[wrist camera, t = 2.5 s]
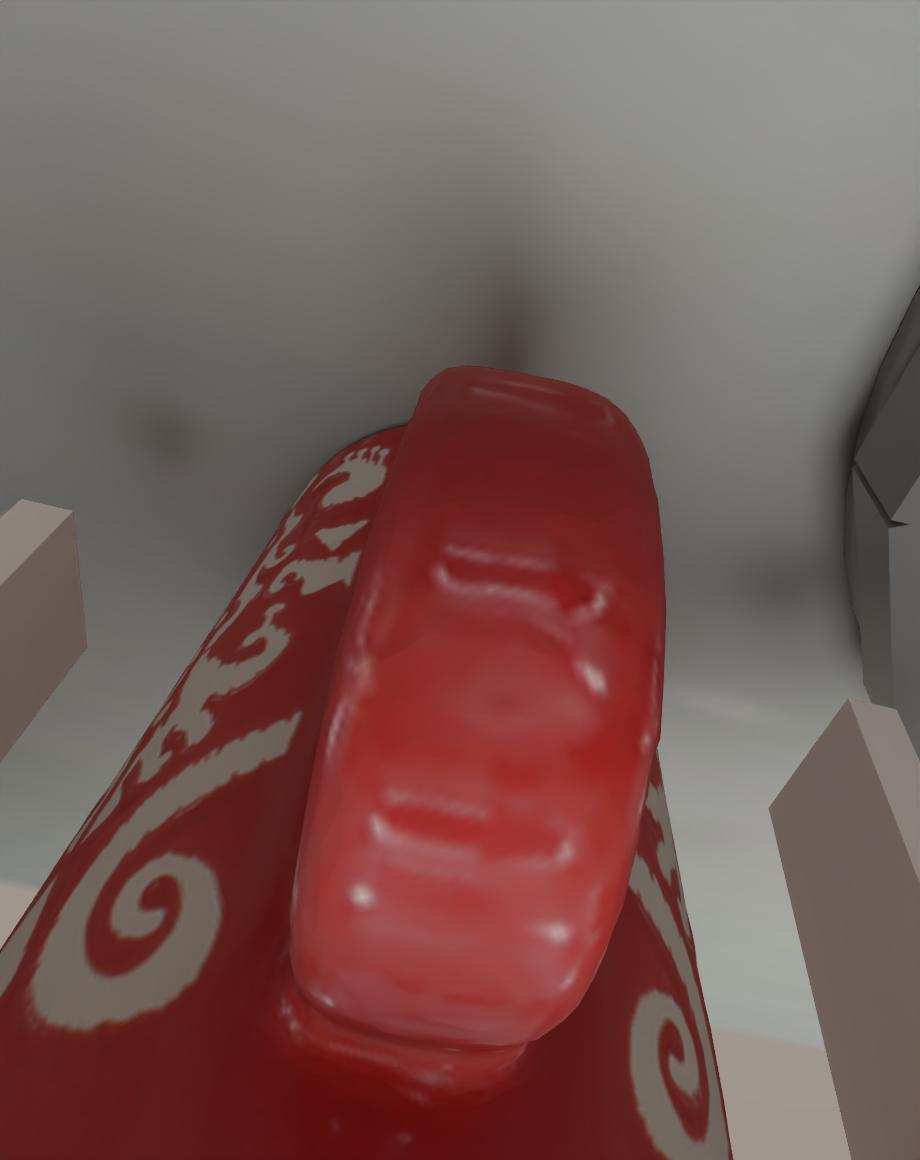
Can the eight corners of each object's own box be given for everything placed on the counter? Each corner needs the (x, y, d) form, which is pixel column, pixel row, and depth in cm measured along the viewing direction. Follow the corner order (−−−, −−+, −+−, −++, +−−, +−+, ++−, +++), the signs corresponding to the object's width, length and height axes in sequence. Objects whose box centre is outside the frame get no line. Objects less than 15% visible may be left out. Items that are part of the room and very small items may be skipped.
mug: (580, 759, 20) (587, 1618, 10) (234, 664, 20) (-173, 1464, 9) (851, 269, 13) (2265, 1677, 2) (307, 93, 12) (-1579, 797, 2)
